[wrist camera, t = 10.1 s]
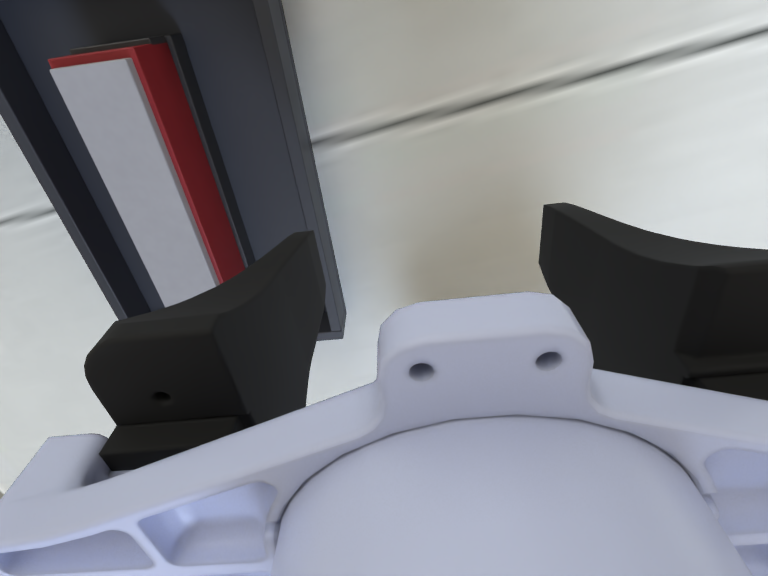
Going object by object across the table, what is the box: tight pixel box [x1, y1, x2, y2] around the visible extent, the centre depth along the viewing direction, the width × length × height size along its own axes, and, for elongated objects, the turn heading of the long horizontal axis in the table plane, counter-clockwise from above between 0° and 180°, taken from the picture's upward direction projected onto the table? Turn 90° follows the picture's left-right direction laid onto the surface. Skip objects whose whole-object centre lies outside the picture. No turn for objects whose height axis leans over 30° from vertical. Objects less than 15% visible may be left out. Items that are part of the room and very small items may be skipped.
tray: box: [0, 0, 346, 341], centre depth 21 cm, size 18×12×2 cm
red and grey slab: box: [48, 33, 256, 307], centre depth 20 cm, size 13×4×4 cm, turn 7°
